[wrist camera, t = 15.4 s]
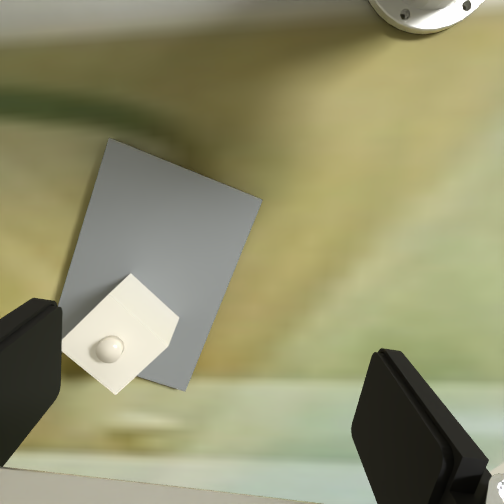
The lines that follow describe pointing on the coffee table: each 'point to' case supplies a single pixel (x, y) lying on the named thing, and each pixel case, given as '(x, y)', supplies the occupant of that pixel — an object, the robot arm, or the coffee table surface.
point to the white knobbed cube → (121, 334)
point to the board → (159, 248)
